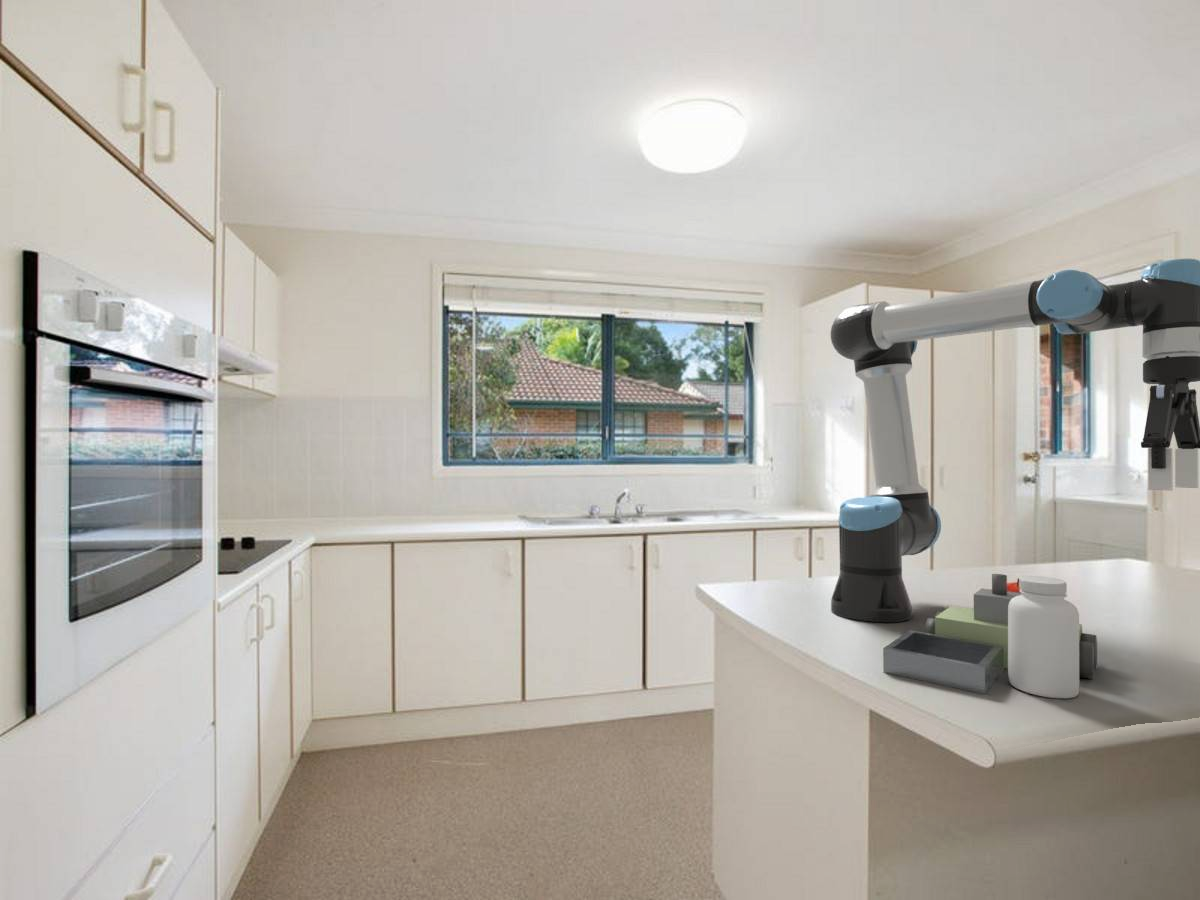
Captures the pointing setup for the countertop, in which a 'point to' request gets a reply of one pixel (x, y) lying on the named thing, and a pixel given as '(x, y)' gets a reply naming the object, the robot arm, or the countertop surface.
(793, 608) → the countertop surface
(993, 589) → the green roller box
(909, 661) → the grey square tray
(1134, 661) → the countertop surface
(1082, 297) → the robot arm
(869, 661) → the countertop surface
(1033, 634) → the pill bottle
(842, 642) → the countertop surface
